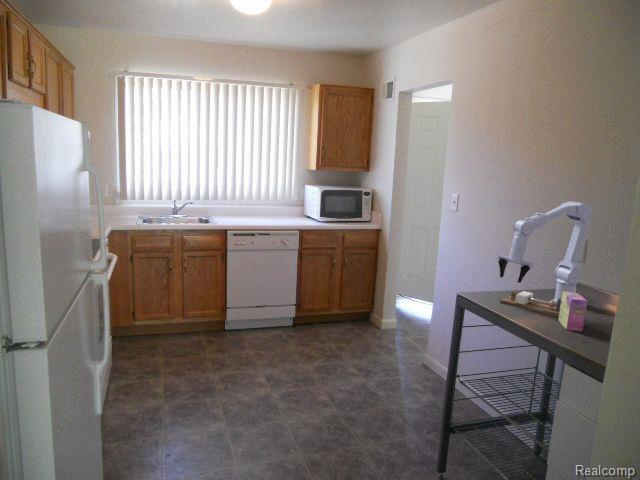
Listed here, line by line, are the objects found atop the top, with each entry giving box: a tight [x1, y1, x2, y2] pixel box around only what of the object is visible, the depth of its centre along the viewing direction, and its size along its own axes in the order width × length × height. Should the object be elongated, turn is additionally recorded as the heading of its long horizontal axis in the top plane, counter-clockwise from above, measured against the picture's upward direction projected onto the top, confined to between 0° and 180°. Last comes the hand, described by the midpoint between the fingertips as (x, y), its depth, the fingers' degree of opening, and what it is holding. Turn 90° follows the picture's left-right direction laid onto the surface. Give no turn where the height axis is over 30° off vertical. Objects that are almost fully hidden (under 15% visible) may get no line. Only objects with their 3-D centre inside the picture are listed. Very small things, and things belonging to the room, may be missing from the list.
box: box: [557, 291, 588, 332], centre depth 177 cm, size 10×6×12 cm, turn 168°
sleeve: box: [515, 290, 534, 305], centre depth 202 cm, size 9×4×3 cm, turn 138°
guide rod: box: [528, 297, 557, 307], centre depth 198 cm, size 1×19×1 cm, turn 48°
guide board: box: [499, 290, 559, 318], centre depth 199 cm, size 11×26×4 cm, turn 48°
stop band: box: [548, 299, 555, 308], centre depth 195 cm, size 3×1×3 cm, turn 138°
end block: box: [556, 297, 562, 312], centre depth 192 cm, size 4×3×5 cm
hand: (510, 279), depth 201 cm, fingers open, 7 cm apart
